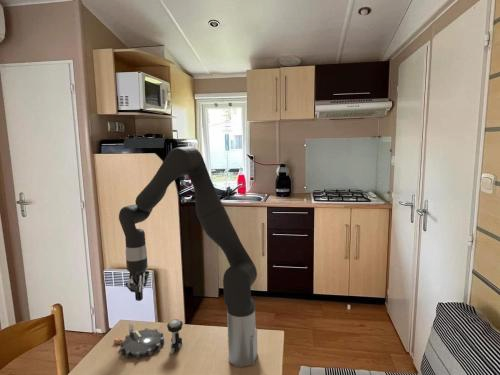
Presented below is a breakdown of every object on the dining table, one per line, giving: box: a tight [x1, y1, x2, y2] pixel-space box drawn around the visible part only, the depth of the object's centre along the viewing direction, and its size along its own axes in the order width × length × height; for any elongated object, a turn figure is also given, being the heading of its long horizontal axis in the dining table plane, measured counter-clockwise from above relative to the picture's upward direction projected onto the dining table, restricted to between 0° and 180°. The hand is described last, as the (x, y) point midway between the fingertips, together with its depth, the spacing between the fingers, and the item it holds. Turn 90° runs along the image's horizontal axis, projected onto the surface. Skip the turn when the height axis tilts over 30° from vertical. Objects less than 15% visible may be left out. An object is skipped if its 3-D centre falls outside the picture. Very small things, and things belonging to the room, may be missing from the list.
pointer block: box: [113, 337, 123, 345], centre depth 114 cm, size 3×2×2 cm, turn 77°
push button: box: [166, 318, 184, 355], centre depth 109 cm, size 7×5×10 cm
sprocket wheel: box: [119, 323, 165, 360], centre depth 112 cm, size 15×15×6 cm
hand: (139, 299), depth 120 cm, fingers closed
